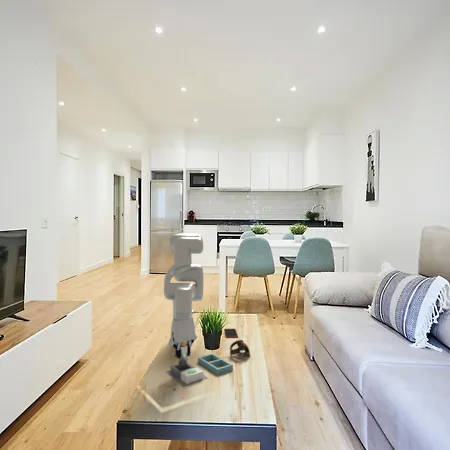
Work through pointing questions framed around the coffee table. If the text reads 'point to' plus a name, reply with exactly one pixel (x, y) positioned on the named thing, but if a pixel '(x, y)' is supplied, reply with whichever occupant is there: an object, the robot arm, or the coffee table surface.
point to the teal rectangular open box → (215, 364)
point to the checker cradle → (186, 374)
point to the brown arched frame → (239, 348)
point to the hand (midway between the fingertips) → (182, 356)
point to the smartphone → (230, 333)
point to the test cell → (183, 354)
